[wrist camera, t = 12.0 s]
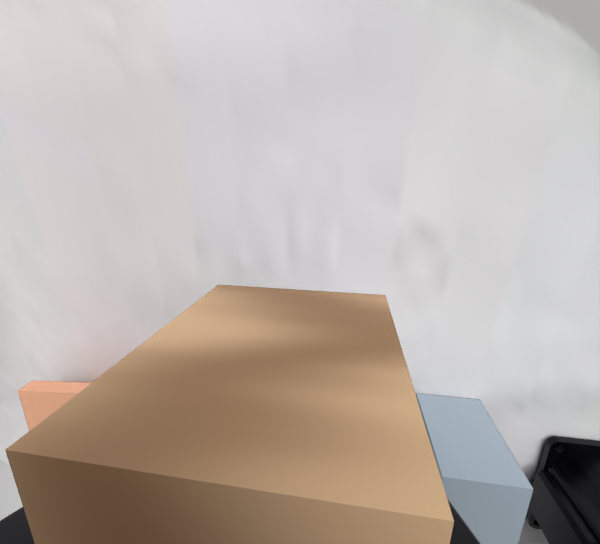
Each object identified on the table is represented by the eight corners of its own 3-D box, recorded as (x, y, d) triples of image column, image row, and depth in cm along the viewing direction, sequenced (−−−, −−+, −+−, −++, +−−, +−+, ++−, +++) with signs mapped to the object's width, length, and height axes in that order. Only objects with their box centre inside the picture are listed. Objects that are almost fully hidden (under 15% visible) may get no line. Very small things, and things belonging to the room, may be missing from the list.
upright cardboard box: (385, 295, 7) (453, 520, 2) (366, 495, 9) (385, 864, 4) (218, 284, 8) (5, 450, 3) (230, 474, 9) (107, 775, 5)
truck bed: (480, 399, 18) (534, 489, 13) (451, 549, 21) (484, 669, 16) (172, 368, 21) (111, 431, 15) (188, 505, 24) (144, 595, 19)
